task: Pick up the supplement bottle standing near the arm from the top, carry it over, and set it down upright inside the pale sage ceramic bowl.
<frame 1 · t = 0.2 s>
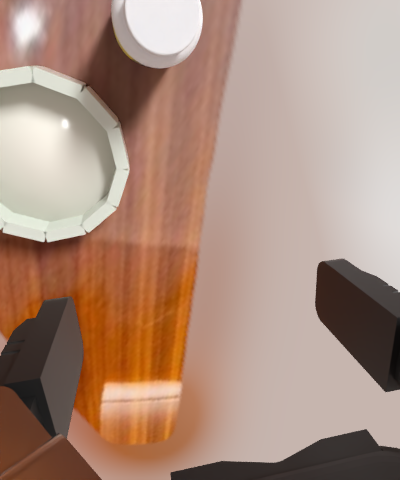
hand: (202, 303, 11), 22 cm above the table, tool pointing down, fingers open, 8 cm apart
sage bowl: (47, 154, 29), on the table
supplement bottle: (149, 27, 26), on the table
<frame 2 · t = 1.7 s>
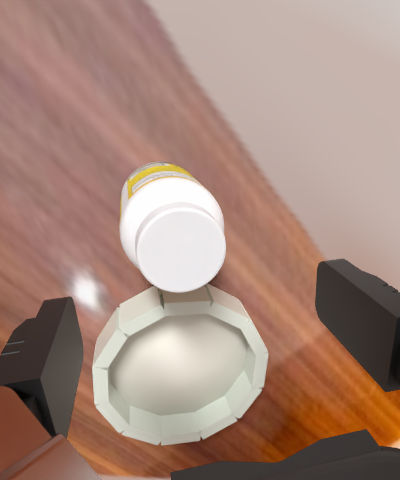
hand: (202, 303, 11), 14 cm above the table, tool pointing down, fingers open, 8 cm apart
sage bowl: (178, 352, 29), on the table
supplement bottle: (160, 199, 24), on the table
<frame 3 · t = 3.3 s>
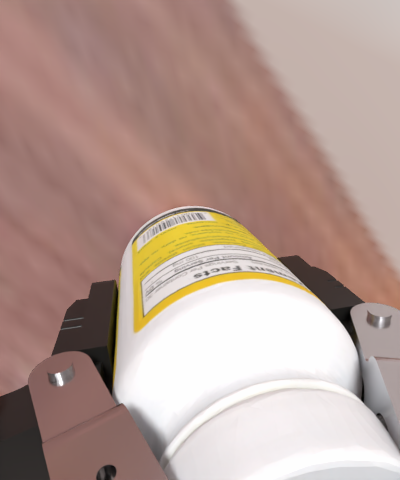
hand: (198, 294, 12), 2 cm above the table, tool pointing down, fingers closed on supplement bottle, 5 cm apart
supplement bottle: (190, 267, 14), on the table, touching gripper
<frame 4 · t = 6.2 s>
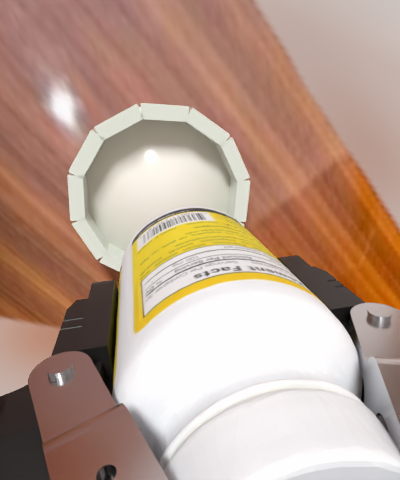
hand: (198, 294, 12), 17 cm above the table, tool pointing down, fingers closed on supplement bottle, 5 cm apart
sage bowl: (159, 191, 28), on the table
supplement bottle: (190, 267, 14), point 15 cm above the table, touching gripper
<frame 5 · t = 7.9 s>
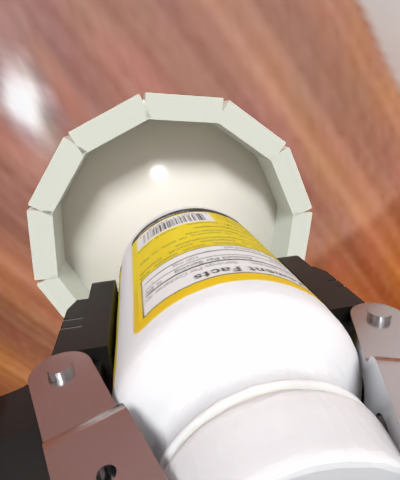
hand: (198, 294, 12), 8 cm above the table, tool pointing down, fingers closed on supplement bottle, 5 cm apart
sage bowl: (172, 225, 19), on the table
supplement bottle: (190, 267, 14), point 6 cm above the table, touching gripper
when the fingers open (4 cm above the table, at t = 9.5 s): supplement bottle drops 1 cm, resting on sage bowl.
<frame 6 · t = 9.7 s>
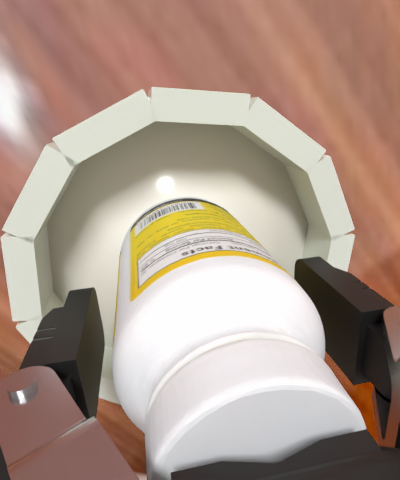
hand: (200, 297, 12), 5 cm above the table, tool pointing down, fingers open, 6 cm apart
sage bowl: (182, 248, 16), on the table
supplement bottle: (184, 253, 15), point 1 cm above the table, touching sage bowl
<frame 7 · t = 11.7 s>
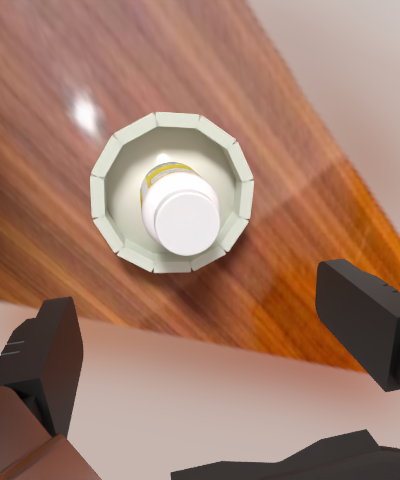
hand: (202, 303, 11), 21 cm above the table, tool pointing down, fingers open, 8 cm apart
sage bowl: (171, 191, 31), on the table
supplement bottle: (172, 192, 30), point 1 cm above the table, touching sage bowl
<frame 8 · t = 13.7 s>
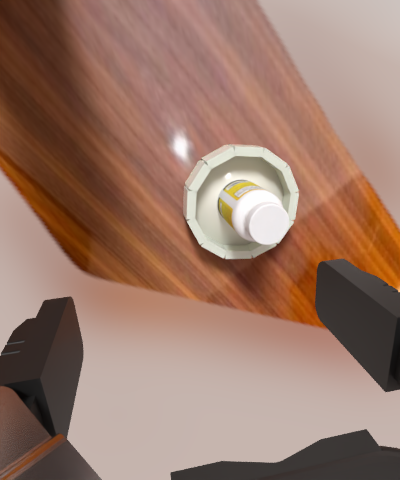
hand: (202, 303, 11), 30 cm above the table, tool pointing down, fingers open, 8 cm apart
sage bowl: (236, 199, 42), on the table
supplement bottle: (238, 200, 41), point 1 cm above the table, touching sage bowl
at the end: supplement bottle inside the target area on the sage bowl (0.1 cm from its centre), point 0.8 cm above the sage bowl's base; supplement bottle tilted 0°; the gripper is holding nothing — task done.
